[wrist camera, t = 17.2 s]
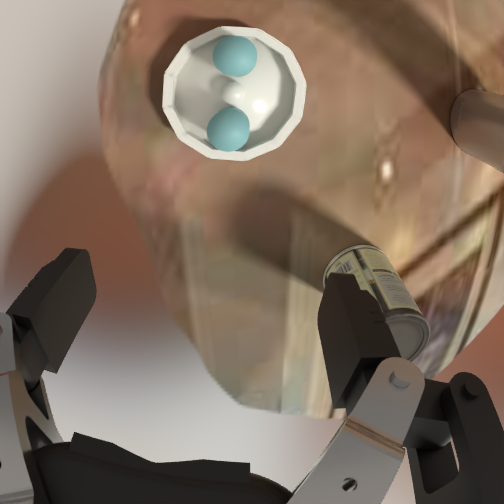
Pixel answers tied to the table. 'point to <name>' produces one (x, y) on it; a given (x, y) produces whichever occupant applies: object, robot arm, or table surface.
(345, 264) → the coffee can
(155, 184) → the table surface
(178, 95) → the ring tray
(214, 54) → the bead
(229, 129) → the bead
